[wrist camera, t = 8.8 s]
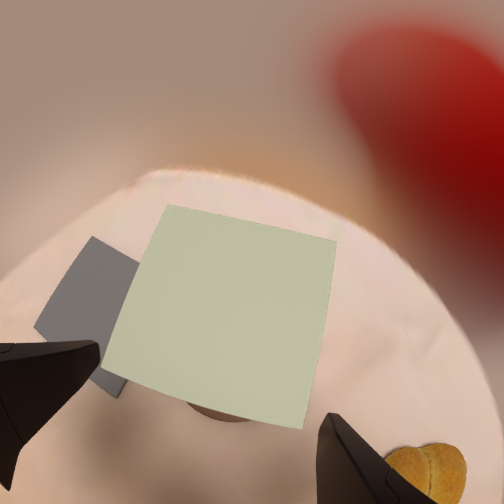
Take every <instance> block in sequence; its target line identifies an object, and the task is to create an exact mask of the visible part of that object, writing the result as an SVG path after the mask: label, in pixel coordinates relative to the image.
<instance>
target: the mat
mask: <svg viewBox="0 0 504 504" xmlns="http://www.w3.org/2000/svg"><path fill="white" fill-rule="evenodd" d="M139 265H140V263H139V262H137V261H135V260H133V259H131V258H130V257H128V256H126V255H124V254H123V253H121V252H119V251H117V250H116V249H114V248H112V247H110V246H109V245H107V244H105V243H104V242H102V241H100V240H98V239H97V238H95V237H93V236H92V237H91V238H90V239H89V241H88V242H87V244H86V245H85V246H84V248H83V249H82V251H81V252H80V253H79V255H78V256H77V258H76V259H75V261H74V262H73V263H72V265H71V266H70V268H69V269H68V271H67V272H66V274H65V275H64V277H63V278H62V280H61V282H60V283H59V285H58V286H57V288H56V289H55V291H54V293H53V294H52V296H51V298H50V299H49V301H48V302H47V304H46V306H45V308H44V309H43V311H42V313H41V314H40V316H39V318H38V320H37V321H36V323H35V325H34V328H35V329H36V330H37V331H38V332H39V333H40V334H41V335H42V336H43V337H44V338H45V339H46V340H47V341H48V342H60V341H76V340H93V341H95V342H97V343H98V344H99V347H100V357H101V360H100V364H99V365H98V367H97V368H96V369H95V371H94V372H93V373H92V374H91V376H90V377H89V378H90V379H91V380H92V381H93V382H95V383H96V384H97V385H98V386H100V387H101V388H102V389H104V390H105V391H106V392H108V393H109V394H110V395H112V396H113V397H114V398H118V396H119V394H120V393H121V391H122V389H123V387H124V385H125V384H126V382H127V380H128V379H125V378H123V377H121V376H118V375H116V374H114V373H112V372H110V371H107V370H105V369H103V368H101V364H102V361H103V358H104V355H105V352H106V349H107V347H108V344H109V341H110V338H111V335H112V332H113V330H114V327H115V324H116V322H117V319H118V316H119V314H120V311H121V308H122V306H123V303H124V301H125V298H126V296H127V293H128V291H129V288H130V286H131V283H132V281H133V279H134V276H135V274H136V272H137V269H138V267H139Z"/></svg>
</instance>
